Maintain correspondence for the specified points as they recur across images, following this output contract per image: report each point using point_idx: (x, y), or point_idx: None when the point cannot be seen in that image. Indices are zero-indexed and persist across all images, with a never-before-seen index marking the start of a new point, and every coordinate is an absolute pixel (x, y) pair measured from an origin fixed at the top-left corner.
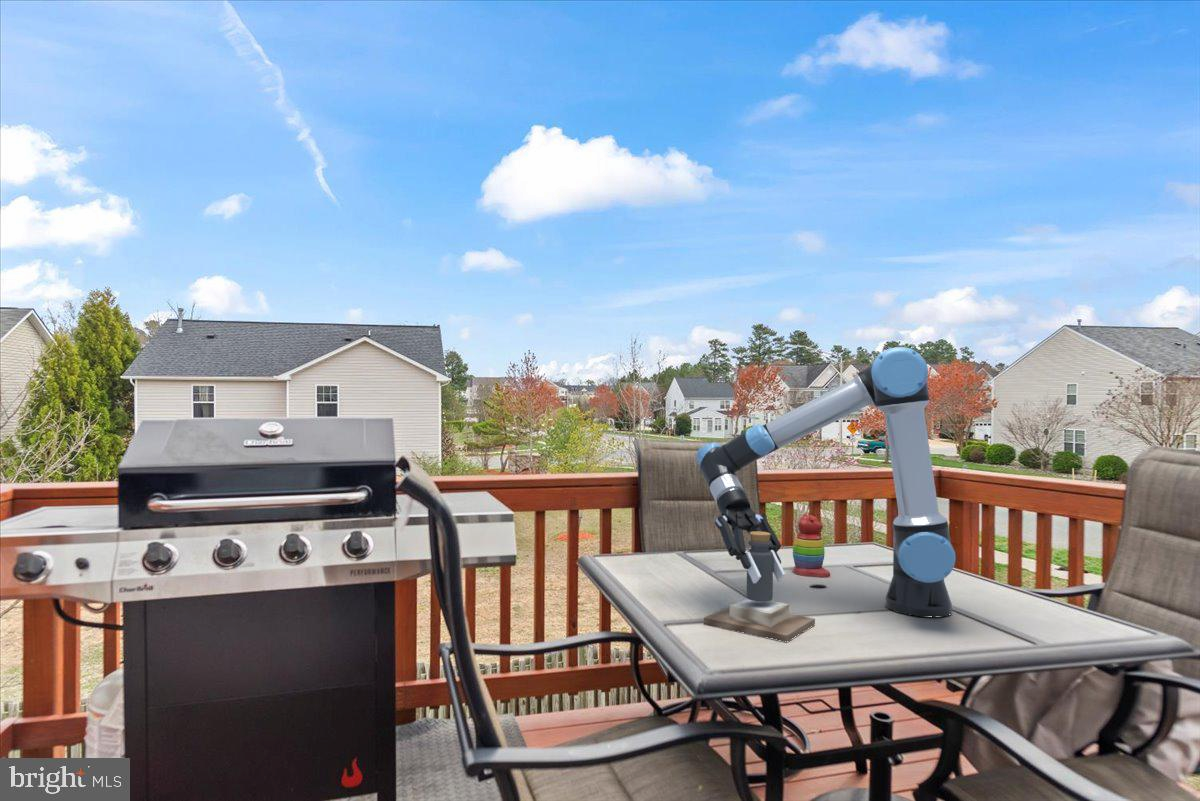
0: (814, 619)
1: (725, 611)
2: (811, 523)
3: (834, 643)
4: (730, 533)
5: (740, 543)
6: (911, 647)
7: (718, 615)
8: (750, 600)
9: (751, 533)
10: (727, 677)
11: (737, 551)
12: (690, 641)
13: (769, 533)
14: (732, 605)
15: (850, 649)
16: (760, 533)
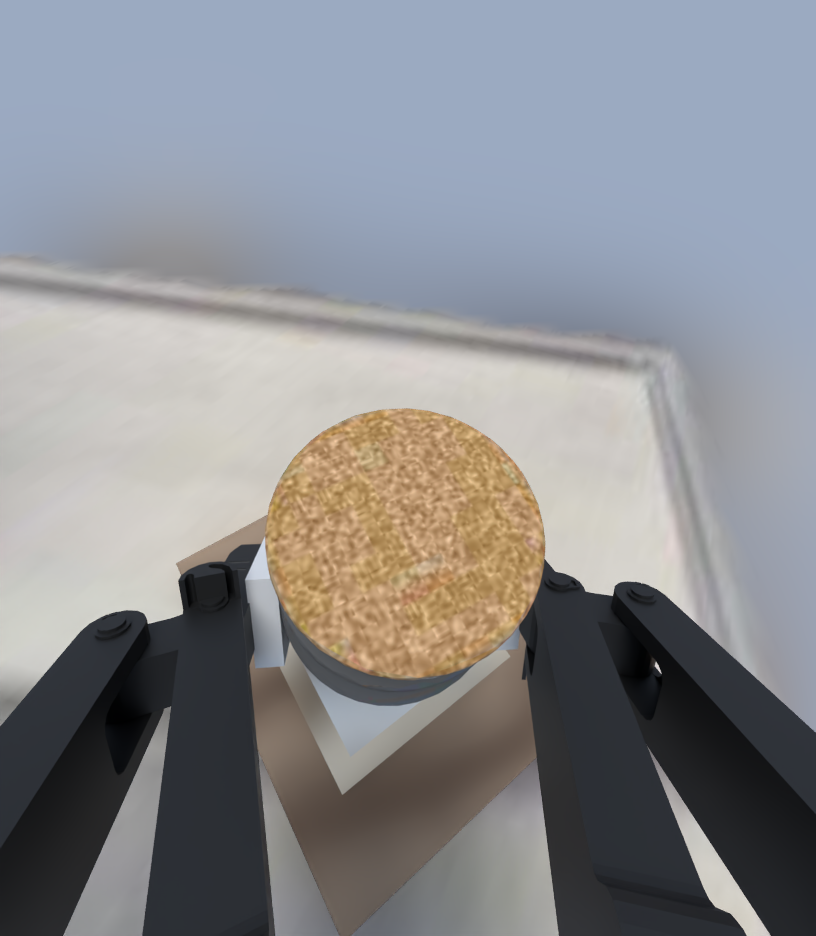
0: (182, 560)
1: (467, 776)
2: None
3: (272, 416)
4: (789, 754)
5: (594, 634)
6: (109, 340)
7: (520, 718)
8: (379, 709)
9: (540, 524)
10: (620, 341)
11: (604, 599)
12: (656, 544)
13: (305, 460)
14: (497, 654)
15: (270, 374)
16: (423, 489)
